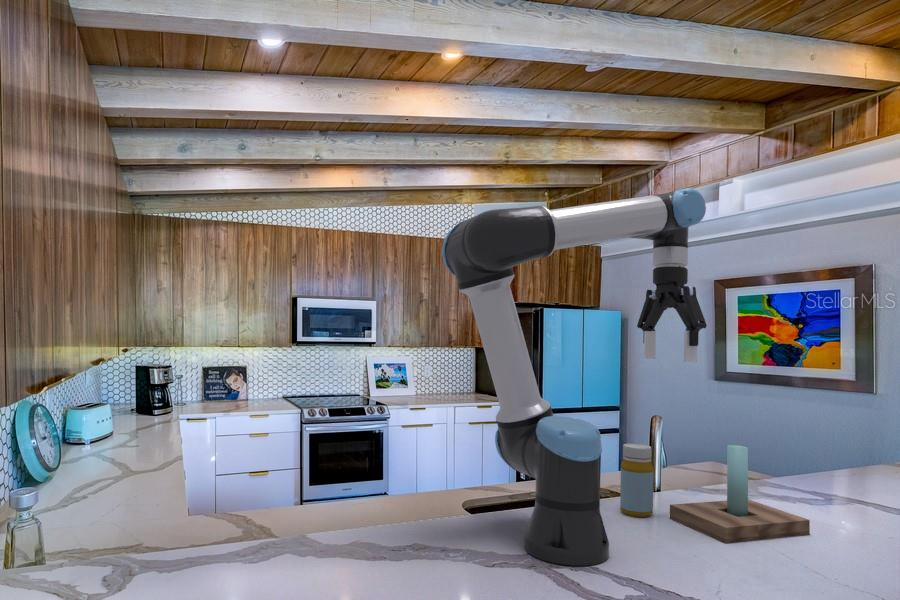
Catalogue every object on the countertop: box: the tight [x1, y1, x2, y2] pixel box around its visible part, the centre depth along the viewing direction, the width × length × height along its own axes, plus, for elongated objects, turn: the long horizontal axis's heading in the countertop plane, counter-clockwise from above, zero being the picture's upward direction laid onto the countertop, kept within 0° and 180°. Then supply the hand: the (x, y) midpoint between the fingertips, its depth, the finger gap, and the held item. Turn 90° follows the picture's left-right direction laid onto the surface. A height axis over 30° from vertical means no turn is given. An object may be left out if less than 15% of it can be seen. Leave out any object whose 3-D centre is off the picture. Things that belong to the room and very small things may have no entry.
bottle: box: [619, 443, 654, 518], centre depth 133 cm, size 7×7×15 cm
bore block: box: [669, 498, 811, 544], centre depth 126 cm, size 22×16×3 cm
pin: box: [726, 444, 749, 517], centre depth 126 cm, size 4×4×16 cm
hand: (669, 360), depth 134 cm, fingers open, 13 cm apart
